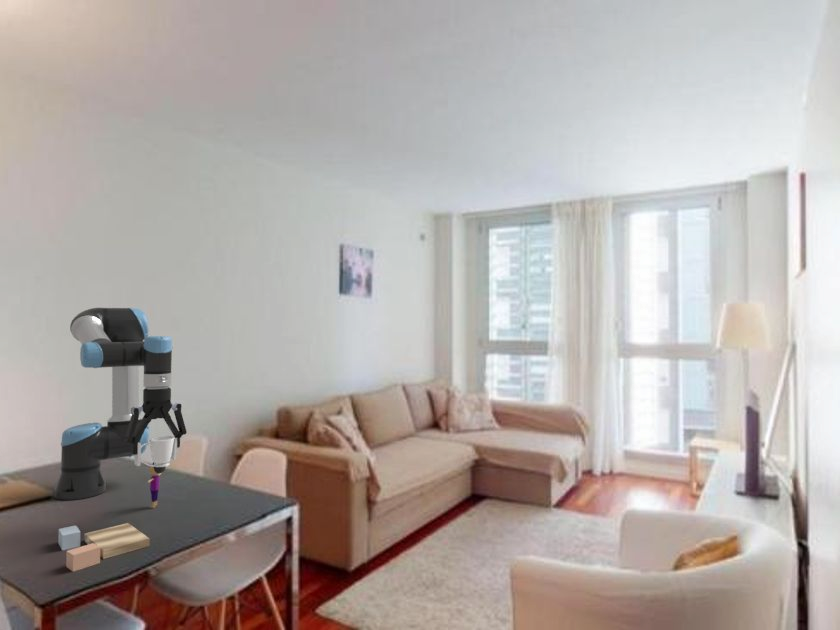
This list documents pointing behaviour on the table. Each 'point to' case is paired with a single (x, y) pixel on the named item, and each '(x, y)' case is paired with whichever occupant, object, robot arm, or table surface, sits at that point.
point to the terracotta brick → (83, 557)
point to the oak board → (117, 540)
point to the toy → (155, 483)
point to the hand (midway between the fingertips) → (156, 461)
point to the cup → (160, 450)
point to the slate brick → (69, 537)
